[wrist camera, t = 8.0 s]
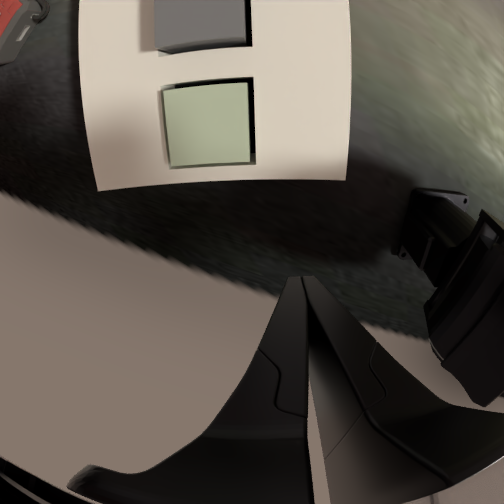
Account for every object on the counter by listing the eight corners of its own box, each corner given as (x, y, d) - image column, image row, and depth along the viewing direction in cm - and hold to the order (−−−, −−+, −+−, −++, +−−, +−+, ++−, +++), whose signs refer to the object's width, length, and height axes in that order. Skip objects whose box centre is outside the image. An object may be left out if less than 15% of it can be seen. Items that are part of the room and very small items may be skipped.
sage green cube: (248, 83, 15) (246, 82, 13) (250, 148, 18) (249, 161, 15) (179, 89, 16) (163, 90, 13) (185, 152, 18) (171, 166, 15)
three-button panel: (324, -81, 7) (332, -99, 4) (333, 166, 18) (345, 180, 16) (107, -57, 7) (89, -68, 5) (116, 176, 19) (98, 191, 16)
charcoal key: (244, -14, 11) (242, -34, 8) (246, 46, 13) (244, 36, 10) (172, -5, 11) (154, -21, 8) (173, 53, 13) (154, 47, 10)
